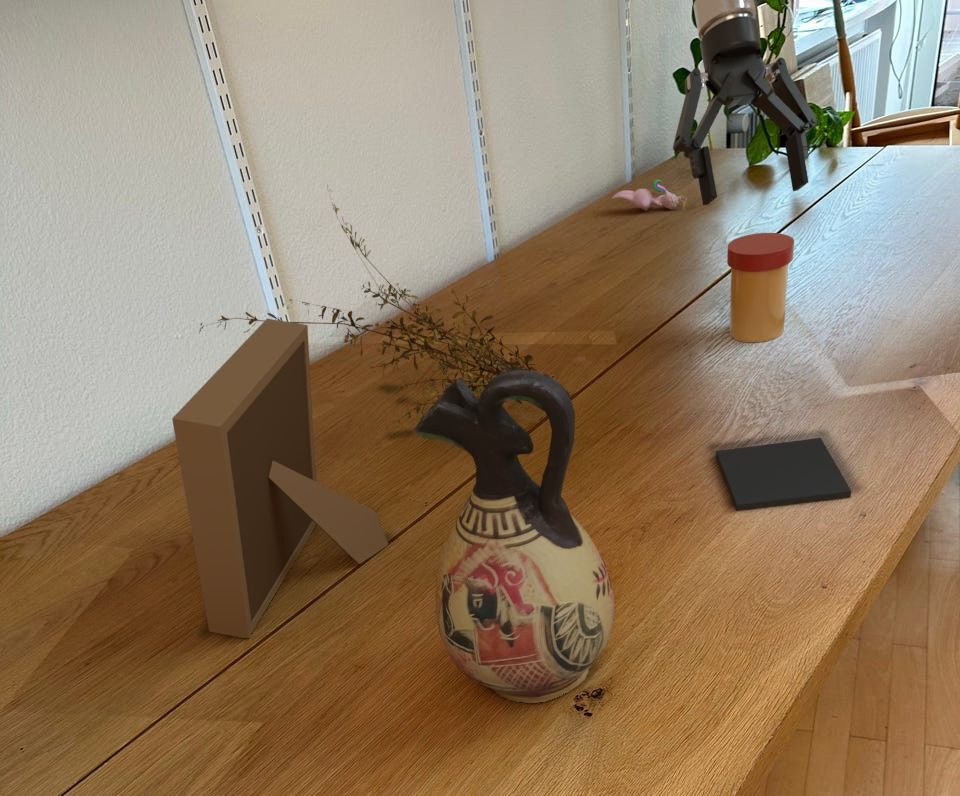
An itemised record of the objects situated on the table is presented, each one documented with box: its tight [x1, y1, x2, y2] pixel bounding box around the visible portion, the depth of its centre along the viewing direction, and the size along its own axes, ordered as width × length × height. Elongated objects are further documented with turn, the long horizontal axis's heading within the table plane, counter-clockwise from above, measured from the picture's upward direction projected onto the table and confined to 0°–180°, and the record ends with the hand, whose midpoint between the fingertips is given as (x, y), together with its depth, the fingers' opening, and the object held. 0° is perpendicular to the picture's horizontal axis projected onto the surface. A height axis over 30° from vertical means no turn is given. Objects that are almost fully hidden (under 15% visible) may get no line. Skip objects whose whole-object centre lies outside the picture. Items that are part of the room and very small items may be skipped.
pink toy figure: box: [611, 179, 688, 212], centre depth 181 cm, size 6×6×15 cm
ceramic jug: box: [413, 368, 616, 704], centre depth 73 cm, size 17×15×30 cm
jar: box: [729, 264, 789, 343], centre depth 127 cm, size 8×8×12 cm
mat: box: [715, 437, 852, 512], centre depth 101 cm, size 12×12×1 cm
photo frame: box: [171, 318, 389, 639], centre depth 92 cm, size 15×22×25 cm
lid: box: [726, 232, 795, 272], centre depth 124 cm, size 9×9×2 cm
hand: (755, 194), depth 122 cm, fingers open, 13 cm apart
